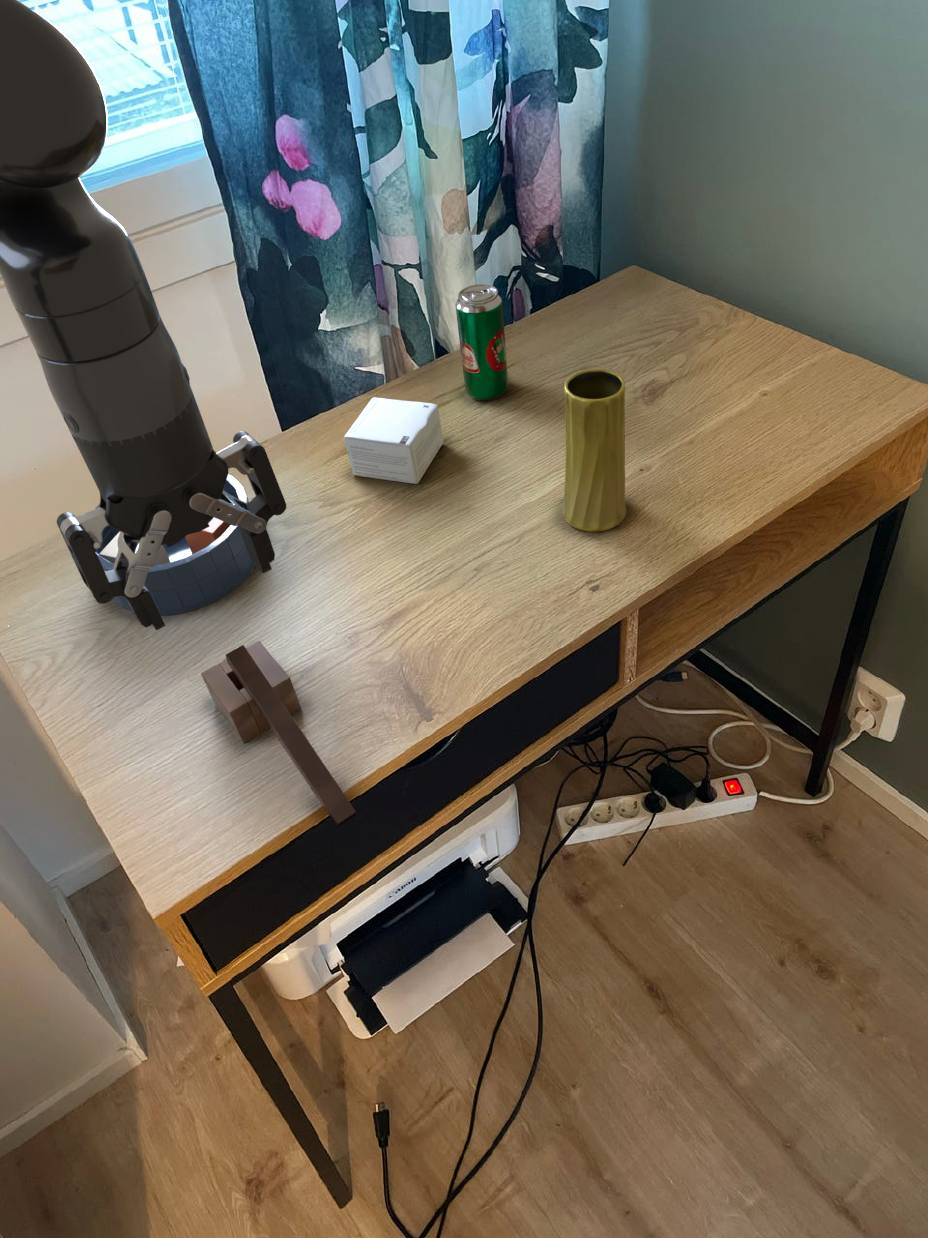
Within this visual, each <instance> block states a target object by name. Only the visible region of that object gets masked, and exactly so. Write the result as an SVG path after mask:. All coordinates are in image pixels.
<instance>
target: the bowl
mask: <svg viewBox="0 0 928 1238" xmlns="http://www.w3.org/2000/svg"><path fill="white" fill-rule="evenodd" d="M224 491H226V492H227V493H228V494H230V495H231V496H233V497H235V498H237V499H240V500H242V501H244V502H246V503H249V502H250V501H249V499H248V496H247V492H246V490H245V487H244V485H243V484H242V483H240V481H239V480H238V479H237V478H235V477H234V476H233V475H232V474H230V473H228V477H227V480H226V483H225V486H224ZM99 505H100V503H99V504H98V505H97V506H95V508H94V509H97V508H99ZM119 532H120V531H118V530H116V529H114V528H112V527H111V526H110V525H109V526H107V527H106V528H105V529H104V530H103V532H102V538H103V540H102V543H101V546H100V548H98V549H95V551H96V553H97V555H98V558H99V560H100V562H101V564H102V567H103V569H104V571H110V570H112V569H113V566H114V563H111V562H109V561H107V560H106V559H104V558H103V557H101V556H100V555H99V554H100V553H101V551H102V550H103V549H104V548H105V547H106V546H107V545H108V544H109V543H110V542H111V541H112V540H113V538H114V537H115V536H116V535H117V534H118V533H119ZM163 546H164V549H165V551H166V553H167V555H168V557H169V560H170V562H171V563H167V564H162V565H156V566H154V567H153V568H152V569H149V571H148V574H147V577H146V580H145V583H144V586H145V587H146V588H147V590H148V591H149V593H150V595H151V597H152V599H153V601H154V603H155V605H156V607H157V609H158V611H159V613H160V615H161V616H171V615H178V614H183V613H187V612H188V613H189V612H192V611H195V610H198V609H200V608H203V607H205V606H208V605H210V604H212V603H214V602H216V601H219V600H220V599H222V598H224V597H225V596H227V595H229V594H230V593H231V592H232V591H234V590H235V589H236V588H238V587H239V586H240V585H241V584H242V583H244V581H245V580H246V579H247V578H248V577H249V576H250V575H251V573H252V571H253V570H254V569H255V567H256V566H255V565H254V564H253V562H252V561H251V559H250V557H249V554H248V551H247V548H246V546H245V543H244V540H243V537H242V535H241V532H240V529H239V526H236V527H235V526H232V525H230V526H229V528H228V529H227V530H226V531H225V532H224V533H223V534H222V535H221V537H219V538H218V539H217V540H215V541H214V542H213V543H211V544H210V545H209V546H207V547H206V548H204V549H202V550H200V551H198V552H196V553H194V554H192V552H191V550H190V548H189V545H188V543H187V541H186V538H185V537H184V538H183V539H182V540H180V541H179V542H178V543H176V544H174V545H172V546H170V547H167V546H166V545H163ZM112 601H113V602H114V603H115V604H116V605H118V606H119V607H121V608H122V609H125V610H126V611H128V612H132V613H133V611H132V610H131V608H130V606H129V604H128V602H127V600H126V598H125V597H123V596H117V597H113V599H112Z"/></svg>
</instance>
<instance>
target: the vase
mask: <svg viewBox="0 0 928 1238" xmlns="http://www.w3.org/2000/svg"><path fill="white" fill-rule="evenodd" d="M563 387H564V411H565V415H564V416H565V419H564V421H565V435H564V437H565V439H564V447H565V448H564V449H565V450H564V451H565V452H564V453H565V468H564V495H563V496H564V499H563V508H562V513H563V518H564V520H565V522H566V523H568V524H569V525H570V526H571V527H573V528H574V529H577V530H580V531H583V532H589V533H591V532H592V533H593V532H595V533H596V532H604V531H609V530H611V529H613V528H615V527H617V526H619V525H620V524H621V523H622V522H623V521H624V519H625V518H626V516H627V505H626V501H625V498H626V496H625V494H626V423H625V422H626V418H625V416H626V415H625V413H626V411H625V408H626V407H625V406H626V405H625V403H626V402H625V401H626V398H625V397H626V396H625V395H626V380H625V379H624V377H623V376H622V374H620V373H618V372H616V371H614V370H611V369H607V368H589V369H583V370H580V371H577V372H574V373H573V374H571V375H570V376H569V377H568V378H567V379H566V380H565V382H564V385H563Z"/></svg>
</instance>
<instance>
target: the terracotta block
mask: <svg viewBox="0 0 928 1238" xmlns="http://www.w3.org/2000/svg"><path fill="white" fill-rule="evenodd" d="M208 524H209V526H210V527H208V528H206V529H204V530H202V531H200V532H196V533H192V534H188V535H187V536H185V538H186V541H187V543H188V545H189V548H190V550H191V552H192V554H194V553H196V552H198V551H200V550H202V549H204V548H206V547H207V546H209V545H210V544H211V543H213V542H214V541H215V540H217V539H218V538H219V537H221V535H222V534H223V533H224V532H225V531H226V530H227V529H228V528H229V526H230V524H228V523H226V522H223V521H221V520H219V519H217V518H213V519H212V520H211V521H210V522H209V523H208Z"/></svg>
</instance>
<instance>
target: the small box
mask: <svg viewBox="0 0 928 1238" xmlns="http://www.w3.org/2000/svg"><path fill="white" fill-rule="evenodd" d="M441 423H442V422H441V416H440V409H439V404H436V403H430V402H424V401H412V400H403V399H392V398H383V397H375V396H374V397H372V398H371V399H370V401H368V403H367V405H366V406H365V407H364V409H363V410H362V411H361V413H360V414H359V415H358V417H357V418H356V420H355V421H354V423H352V425H351V427H350V428H349V429H348V431H347V432H346V433H345V435H344V436H343V440H344V444H345V447H346V451H347V456H348V460H349V464H350V465H349V466H350V469H351V473H352V475H354V476H357V477H361V478H362V477H363V478H369V479H378V480H383V481H384V480H385V481H393V482H399V483H406V484H412V485H413V484H414V485H417V484H419V482H420V481H421V479H422V478H423V476H424V474H425V473H426V471H427V470H428V468H429V467H430V465H431V463H432V462H433V460H434V459H435V457H436V455H437V453H438V452H439V450H440V448H441V447H442V446H443V444H444V438H443V437H444V436H443V430H442V424H441Z"/></svg>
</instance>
